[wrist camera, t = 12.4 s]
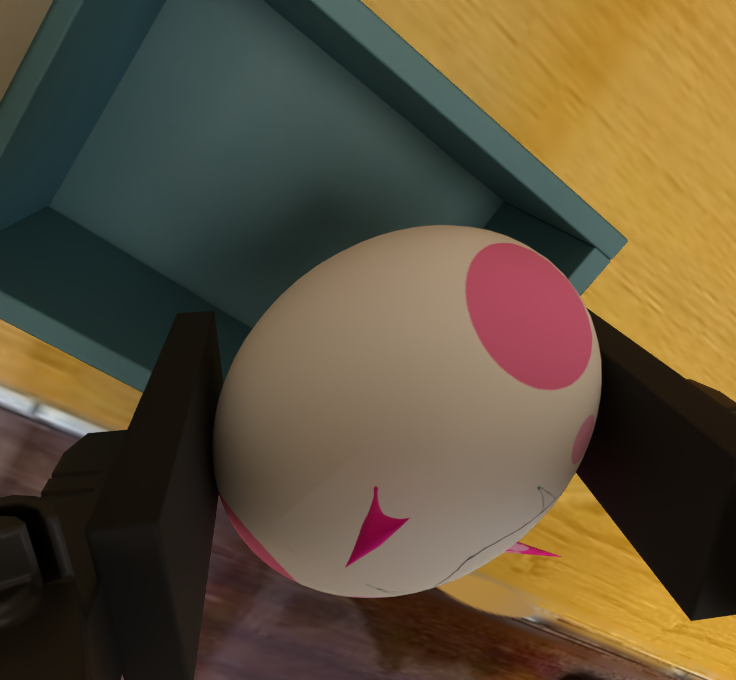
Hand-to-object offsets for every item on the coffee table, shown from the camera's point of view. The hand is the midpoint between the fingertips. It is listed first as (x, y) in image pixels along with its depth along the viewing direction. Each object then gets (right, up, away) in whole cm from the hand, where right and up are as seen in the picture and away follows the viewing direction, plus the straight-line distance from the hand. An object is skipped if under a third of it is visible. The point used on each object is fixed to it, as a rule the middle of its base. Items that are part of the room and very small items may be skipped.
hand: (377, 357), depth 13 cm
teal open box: (-4, +6, +12) cm, 14 cm away
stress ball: (+1, -3, -6) cm, 7 cm away
